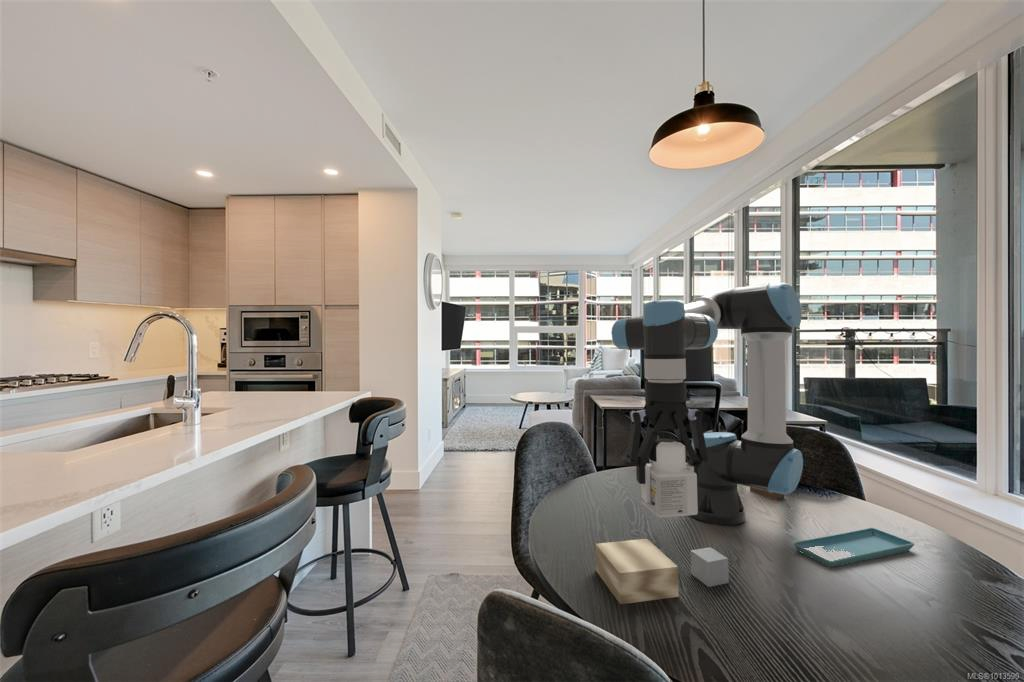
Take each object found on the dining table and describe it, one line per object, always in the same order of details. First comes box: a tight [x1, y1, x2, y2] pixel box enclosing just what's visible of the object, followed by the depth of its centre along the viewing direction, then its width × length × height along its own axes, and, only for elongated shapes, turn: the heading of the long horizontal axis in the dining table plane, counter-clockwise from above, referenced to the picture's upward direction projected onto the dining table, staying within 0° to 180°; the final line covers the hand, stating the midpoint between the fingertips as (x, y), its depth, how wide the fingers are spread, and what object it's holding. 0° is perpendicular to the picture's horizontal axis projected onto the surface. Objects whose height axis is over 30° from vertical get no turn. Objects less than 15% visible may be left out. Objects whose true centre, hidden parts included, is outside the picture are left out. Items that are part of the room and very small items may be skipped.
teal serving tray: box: [792, 527, 915, 568], centre depth 96 cm, size 26×9×2 cm, turn 105°
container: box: [640, 438, 698, 518], centre depth 79 cm, size 8×8×13 cm
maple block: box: [595, 538, 679, 605], centre depth 84 cm, size 12×12×6 cm
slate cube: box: [690, 546, 730, 588], centre depth 85 cm, size 5×5×5 cm
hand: (667, 499), depth 79 cm, fingers closed on container, 8 cm apart
